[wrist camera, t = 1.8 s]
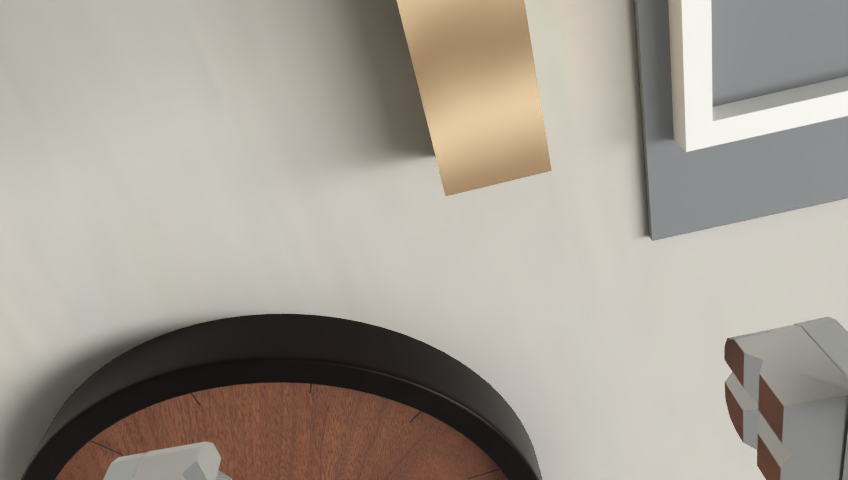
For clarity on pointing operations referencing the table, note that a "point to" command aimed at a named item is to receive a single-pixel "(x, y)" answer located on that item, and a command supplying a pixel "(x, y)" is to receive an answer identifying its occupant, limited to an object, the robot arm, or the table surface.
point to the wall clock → (291, 406)
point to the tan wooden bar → (477, 89)
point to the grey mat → (741, 108)
